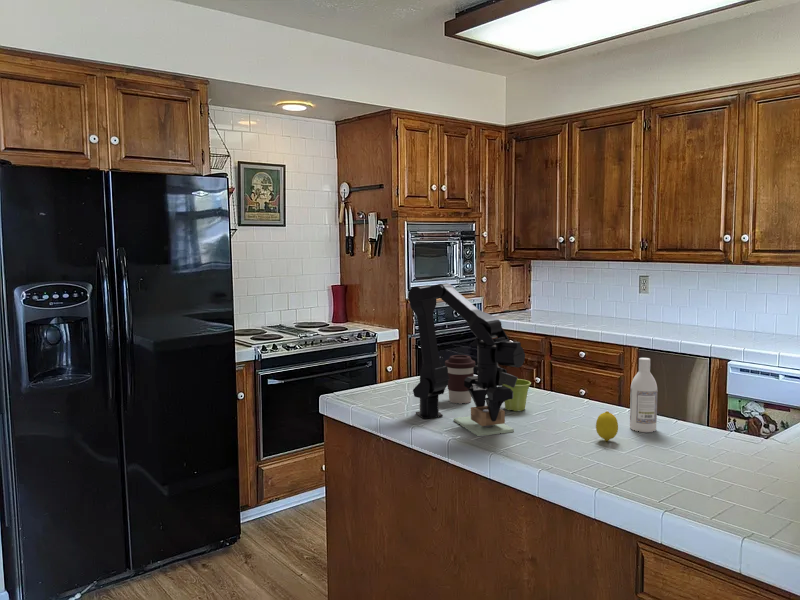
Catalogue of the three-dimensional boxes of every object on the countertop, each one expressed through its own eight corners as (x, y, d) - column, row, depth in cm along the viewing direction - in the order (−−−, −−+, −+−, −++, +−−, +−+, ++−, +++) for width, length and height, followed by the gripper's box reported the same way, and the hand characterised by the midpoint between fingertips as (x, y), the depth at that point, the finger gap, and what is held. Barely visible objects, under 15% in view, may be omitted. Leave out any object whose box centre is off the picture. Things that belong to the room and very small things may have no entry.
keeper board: (453, 420, 187) (453, 403, 187) (487, 417, 191) (487, 399, 191) (478, 436, 172) (478, 417, 172) (513, 431, 176) (514, 413, 176)
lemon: (619, 445, 164) (619, 414, 163) (596, 443, 165) (597, 413, 164) (616, 438, 169) (616, 409, 169) (594, 437, 170) (595, 408, 170)
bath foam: (661, 431, 175) (664, 359, 173) (641, 434, 173) (643, 361, 171) (644, 424, 182) (646, 355, 180) (624, 427, 179) (626, 357, 178)
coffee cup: (480, 400, 212) (480, 355, 210) (467, 406, 203) (467, 360, 202) (453, 396, 217) (453, 352, 215) (439, 402, 208) (439, 357, 207)
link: (470, 419, 181) (470, 407, 181) (492, 416, 183) (492, 404, 183) (482, 426, 174) (482, 413, 174) (504, 423, 177) (504, 411, 176)
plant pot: (521, 404, 206) (521, 377, 205) (536, 411, 197) (536, 383, 196) (494, 406, 203) (495, 379, 202) (509, 414, 194) (509, 386, 193)
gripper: (530, 367, 171) (530, 423, 173) (497, 355, 189) (497, 406, 190) (493, 370, 167) (493, 428, 169) (463, 358, 185) (463, 410, 186)
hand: (487, 417), depth 179 cm, fingers closed on link, 7 cm apart
